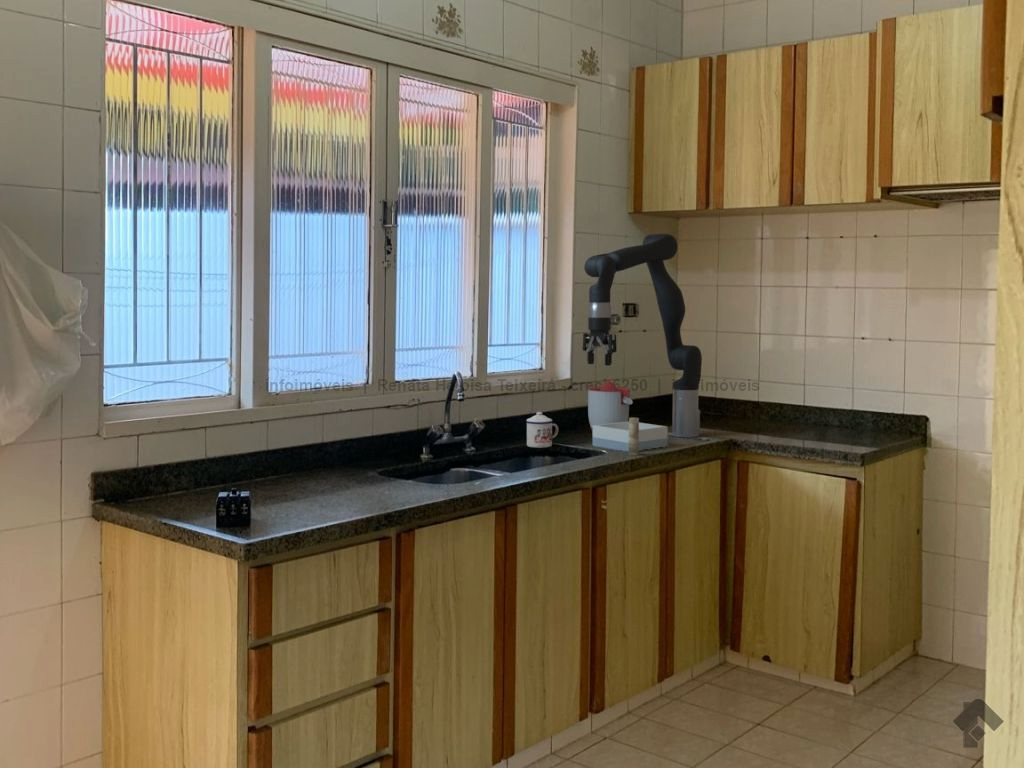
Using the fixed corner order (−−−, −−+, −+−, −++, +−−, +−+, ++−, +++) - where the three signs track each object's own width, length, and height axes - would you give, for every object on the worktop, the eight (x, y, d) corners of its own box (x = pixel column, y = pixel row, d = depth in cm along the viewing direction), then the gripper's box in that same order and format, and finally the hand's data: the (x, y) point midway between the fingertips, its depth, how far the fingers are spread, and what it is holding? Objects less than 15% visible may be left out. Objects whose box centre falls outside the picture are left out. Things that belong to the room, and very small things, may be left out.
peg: (633, 453, 339) (633, 417, 338) (640, 455, 336) (640, 418, 335) (626, 454, 337) (626, 418, 336) (633, 456, 334) (633, 419, 333)
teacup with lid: (534, 448, 350) (534, 414, 349) (521, 445, 358) (521, 411, 357) (564, 445, 356) (564, 412, 355) (550, 442, 364) (550, 409, 363)
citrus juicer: (619, 438, 374) (619, 383, 372) (579, 434, 384) (579, 380, 382) (641, 433, 386) (641, 380, 384) (601, 429, 397) (602, 377, 395)
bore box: (630, 440, 368) (630, 421, 367) (667, 446, 353) (667, 426, 353) (592, 445, 356) (592, 425, 356) (629, 452, 342) (629, 431, 342)
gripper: (622, 316, 342) (622, 365, 344) (593, 315, 353) (593, 363, 355) (605, 316, 338) (605, 366, 339) (577, 316, 349) (576, 364, 350)
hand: (599, 364), depth 347 cm, fingers open, 8 cm apart
